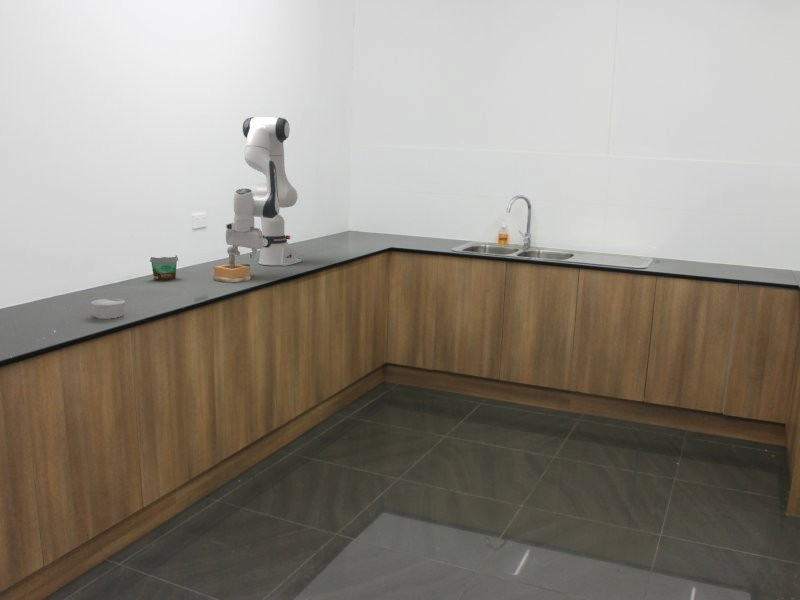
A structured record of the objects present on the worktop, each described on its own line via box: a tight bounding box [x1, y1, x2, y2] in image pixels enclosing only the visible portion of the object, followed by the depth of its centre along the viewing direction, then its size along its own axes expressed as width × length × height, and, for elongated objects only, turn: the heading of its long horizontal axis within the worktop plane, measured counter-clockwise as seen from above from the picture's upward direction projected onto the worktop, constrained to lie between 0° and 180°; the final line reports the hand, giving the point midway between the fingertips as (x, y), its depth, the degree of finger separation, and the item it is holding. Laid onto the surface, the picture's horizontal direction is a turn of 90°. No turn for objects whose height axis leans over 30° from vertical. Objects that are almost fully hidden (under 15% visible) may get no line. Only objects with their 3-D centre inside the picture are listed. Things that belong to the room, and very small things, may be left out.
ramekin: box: [90, 298, 126, 320], centre depth 271 cm, size 11×11×5 cm
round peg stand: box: [213, 245, 252, 284], centre depth 342 cm, size 16×16×14 cm
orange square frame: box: [213, 263, 251, 279], centre depth 345 cm, size 15×11×4 cm
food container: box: [149, 254, 179, 282], centre depth 337 cm, size 12×6×10 cm, turn 130°
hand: (245, 256), depth 349 cm, fingers open, 8 cm apart
